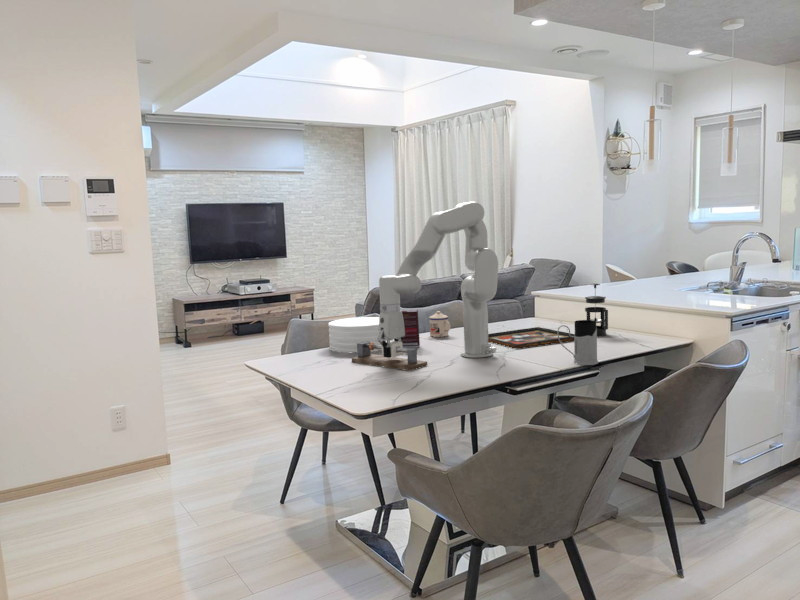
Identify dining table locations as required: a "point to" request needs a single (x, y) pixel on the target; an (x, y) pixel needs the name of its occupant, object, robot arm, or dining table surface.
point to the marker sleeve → (394, 348)
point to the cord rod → (366, 348)
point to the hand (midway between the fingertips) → (392, 355)
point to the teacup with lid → (439, 325)
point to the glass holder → (584, 342)
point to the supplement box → (411, 329)
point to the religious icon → (529, 337)
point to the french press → (604, 321)
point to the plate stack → (353, 333)
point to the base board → (389, 362)
